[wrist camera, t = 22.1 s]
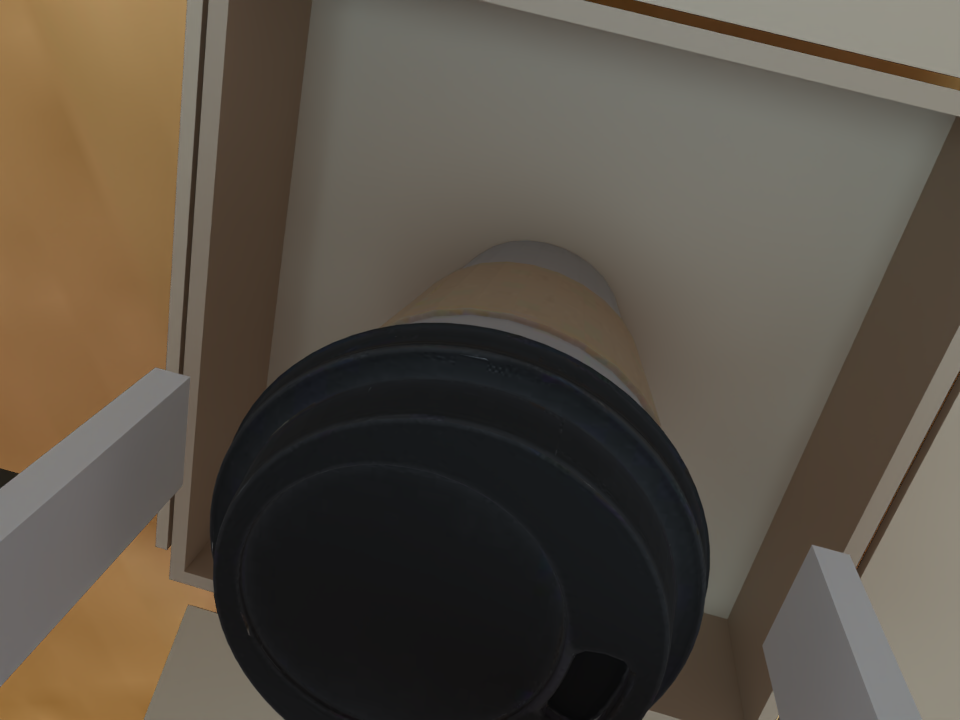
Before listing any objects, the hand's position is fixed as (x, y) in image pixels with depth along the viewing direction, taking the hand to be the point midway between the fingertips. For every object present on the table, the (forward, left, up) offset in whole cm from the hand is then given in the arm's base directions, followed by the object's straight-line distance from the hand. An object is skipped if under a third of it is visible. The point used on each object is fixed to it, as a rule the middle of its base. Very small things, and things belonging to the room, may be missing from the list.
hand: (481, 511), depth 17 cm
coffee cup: (0, 0, -12) cm, 12 cm away
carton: (+3, +3, -12) cm, 13 cm away
